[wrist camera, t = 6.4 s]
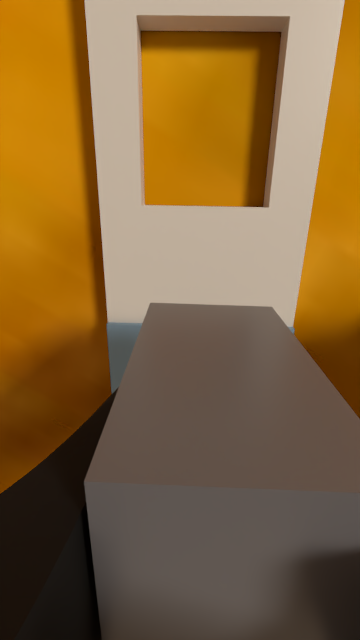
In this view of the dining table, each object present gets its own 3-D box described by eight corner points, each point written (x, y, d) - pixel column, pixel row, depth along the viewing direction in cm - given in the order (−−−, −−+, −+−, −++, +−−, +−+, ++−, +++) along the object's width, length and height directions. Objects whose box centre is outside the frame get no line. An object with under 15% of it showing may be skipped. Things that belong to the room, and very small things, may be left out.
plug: (271, 306, 10) (420, 495, 4) (254, 429, 12) (332, 701, 6) (150, 302, 10) (83, 480, 4) (151, 425, 12) (107, 690, 6)
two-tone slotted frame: (338, -32, 12) (357, -61, 11) (266, 454, 22) (271, 472, 20) (89, -33, 13) (77, -62, 11) (121, 449, 22) (117, 467, 20)
